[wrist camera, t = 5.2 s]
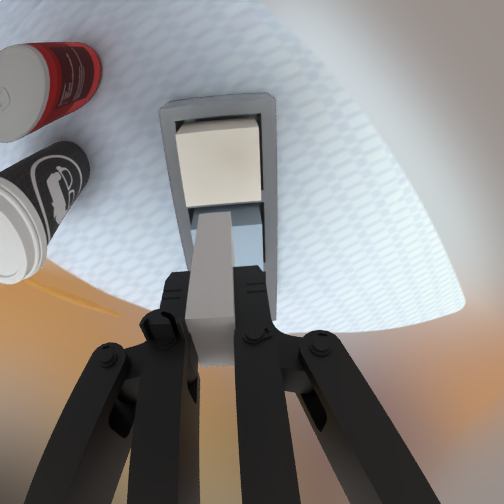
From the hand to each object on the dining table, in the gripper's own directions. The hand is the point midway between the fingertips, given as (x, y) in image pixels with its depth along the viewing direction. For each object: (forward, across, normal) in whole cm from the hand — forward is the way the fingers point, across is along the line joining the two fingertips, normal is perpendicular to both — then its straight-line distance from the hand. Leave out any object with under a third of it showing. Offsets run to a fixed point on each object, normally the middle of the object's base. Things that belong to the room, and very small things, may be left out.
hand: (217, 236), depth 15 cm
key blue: (+13, 0, -8) cm, 15 cm away
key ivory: (+13, 0, 0) cm, 13 cm away
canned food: (+17, -15, +10) cm, 25 cm away
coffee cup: (+17, -18, 0) cm, 25 cm away
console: (+17, 0, -8) cm, 19 cm away
